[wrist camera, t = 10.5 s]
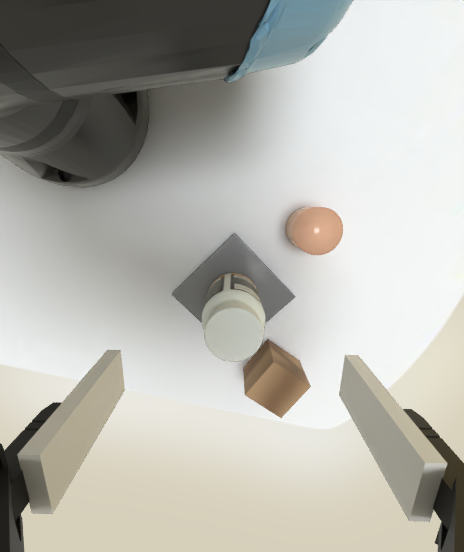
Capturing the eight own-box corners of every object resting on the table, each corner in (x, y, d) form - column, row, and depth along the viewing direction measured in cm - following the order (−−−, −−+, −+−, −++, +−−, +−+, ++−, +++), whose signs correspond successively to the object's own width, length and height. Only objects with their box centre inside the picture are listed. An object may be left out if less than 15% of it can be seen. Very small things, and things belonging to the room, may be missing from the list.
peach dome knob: (277, 228, 29) (285, 232, 24) (307, 198, 28) (321, 196, 24) (304, 255, 30) (316, 264, 25) (334, 227, 29) (352, 231, 24)
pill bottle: (219, 325, 31) (213, 377, 21) (200, 281, 30) (185, 316, 20) (265, 309, 30) (279, 355, 21) (248, 263, 29) (255, 291, 20)
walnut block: (243, 367, 33) (244, 395, 28) (267, 338, 32) (273, 362, 27) (274, 388, 34) (281, 418, 29) (299, 360, 33) (310, 386, 28)
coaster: (172, 292, 31) (171, 294, 30) (234, 232, 29) (234, 233, 28) (232, 348, 32) (232, 351, 32) (294, 295, 31) (295, 297, 30)
